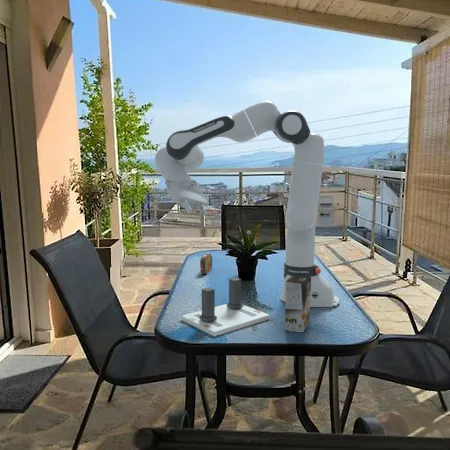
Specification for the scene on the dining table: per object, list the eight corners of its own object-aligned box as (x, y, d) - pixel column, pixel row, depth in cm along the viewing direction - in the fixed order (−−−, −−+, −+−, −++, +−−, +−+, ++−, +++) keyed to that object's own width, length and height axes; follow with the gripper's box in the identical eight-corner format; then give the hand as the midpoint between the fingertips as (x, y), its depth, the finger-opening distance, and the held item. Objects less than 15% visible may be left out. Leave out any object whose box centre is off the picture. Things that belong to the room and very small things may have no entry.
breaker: (226, 306, 153) (227, 278, 151) (235, 304, 155) (235, 277, 154) (234, 309, 150) (234, 281, 148) (242, 307, 152) (243, 279, 151)
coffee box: (304, 333, 133) (305, 283, 131) (284, 330, 136) (285, 281, 134) (309, 323, 142) (311, 276, 140) (290, 320, 144) (292, 274, 142)
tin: (205, 276, 202) (205, 258, 200) (199, 275, 202) (199, 258, 201) (212, 268, 216) (212, 252, 215) (206, 268, 217) (206, 251, 216)
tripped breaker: (199, 319, 140) (199, 288, 139) (209, 316, 143) (209, 286, 141) (206, 322, 137) (206, 291, 136) (216, 319, 140) (216, 289, 138)
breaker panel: (181, 320, 144) (181, 315, 144) (235, 305, 160) (235, 301, 159) (214, 336, 131) (214, 331, 130) (269, 319, 146) (269, 314, 146)
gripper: (169, 173, 151) (187, 203, 146) (200, 183, 169) (217, 211, 164) (157, 184, 153) (175, 214, 148) (189, 193, 171) (205, 221, 166)
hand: (197, 213), depth 156 cm, fingers open, 8 cm apart
